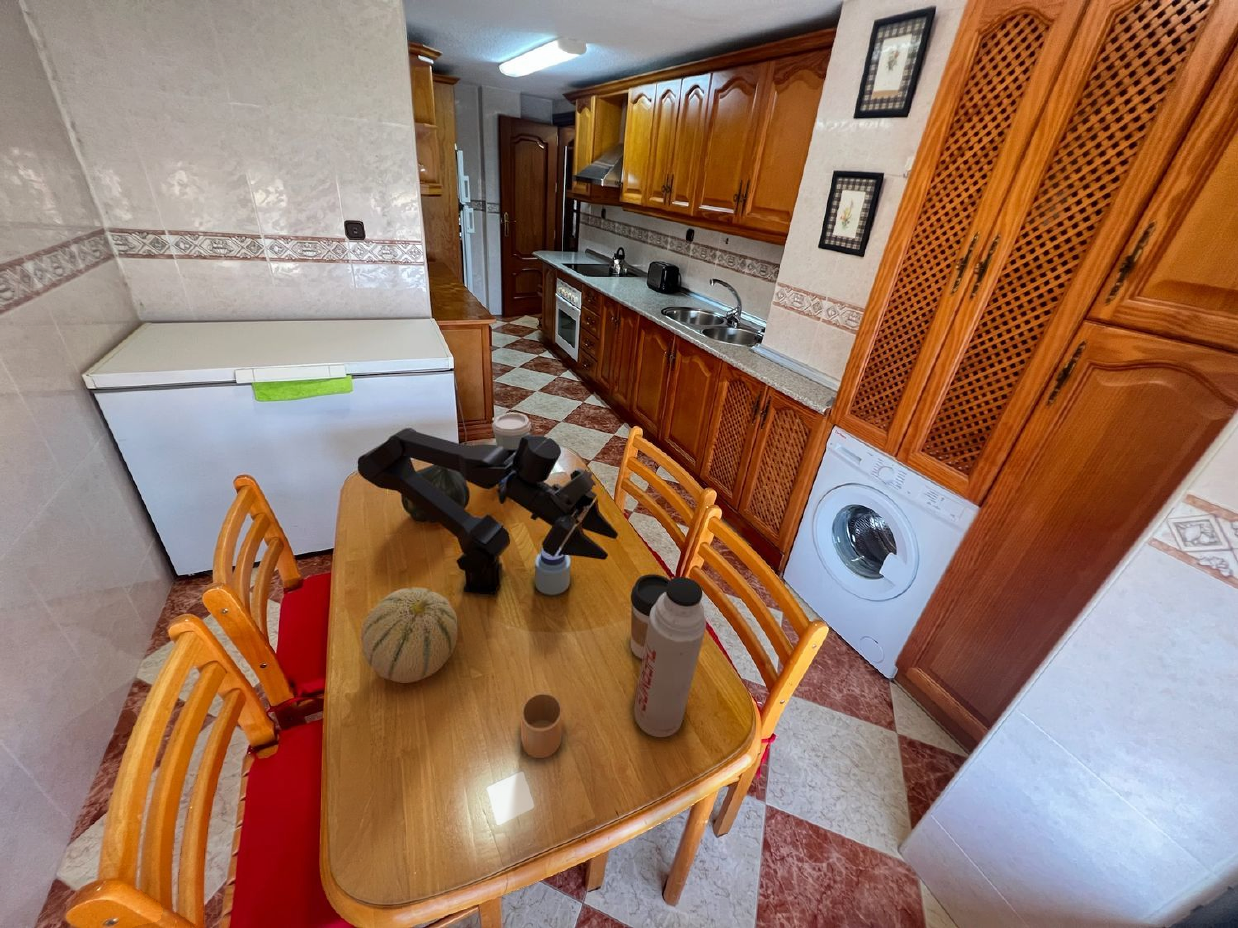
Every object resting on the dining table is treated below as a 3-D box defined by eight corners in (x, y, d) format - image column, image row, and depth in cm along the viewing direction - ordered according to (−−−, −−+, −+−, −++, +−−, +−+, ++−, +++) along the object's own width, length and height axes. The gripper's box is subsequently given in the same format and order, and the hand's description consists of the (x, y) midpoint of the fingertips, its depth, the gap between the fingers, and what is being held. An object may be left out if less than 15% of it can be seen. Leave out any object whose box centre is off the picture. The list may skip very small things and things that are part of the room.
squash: (388, 486, 119) (400, 463, 108) (448, 470, 129) (464, 447, 117) (410, 540, 117) (425, 523, 106) (468, 519, 127) (488, 501, 115)
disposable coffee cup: (519, 480, 136) (518, 431, 129) (486, 470, 139) (483, 422, 131) (538, 462, 145) (538, 416, 137) (506, 453, 148) (504, 408, 140)
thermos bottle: (636, 738, 77) (659, 611, 63) (631, 691, 84) (651, 567, 70) (686, 736, 78) (720, 611, 64) (677, 690, 85) (706, 568, 70)
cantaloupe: (370, 639, 88) (354, 577, 81) (456, 620, 93) (449, 560, 86) (368, 713, 77) (349, 649, 69) (466, 686, 82) (458, 624, 74)
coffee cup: (637, 672, 87) (647, 612, 79) (616, 636, 93) (623, 578, 86) (677, 656, 91) (690, 597, 83) (654, 623, 97) (664, 565, 89)
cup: (517, 756, 73) (516, 728, 70) (526, 717, 78) (525, 690, 75) (557, 760, 73) (559, 732, 70) (564, 721, 78) (565, 694, 75)
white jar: (531, 592, 101) (531, 561, 97) (538, 568, 107) (538, 538, 103) (566, 596, 101) (568, 565, 97) (571, 572, 107) (573, 541, 103)
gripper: (542, 473, 75) (627, 530, 75) (574, 449, 93) (643, 494, 93) (509, 529, 79) (590, 584, 78) (546, 495, 96) (613, 539, 96)
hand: (612, 546), depth 86 cm, fingers open, 9 cm apart
